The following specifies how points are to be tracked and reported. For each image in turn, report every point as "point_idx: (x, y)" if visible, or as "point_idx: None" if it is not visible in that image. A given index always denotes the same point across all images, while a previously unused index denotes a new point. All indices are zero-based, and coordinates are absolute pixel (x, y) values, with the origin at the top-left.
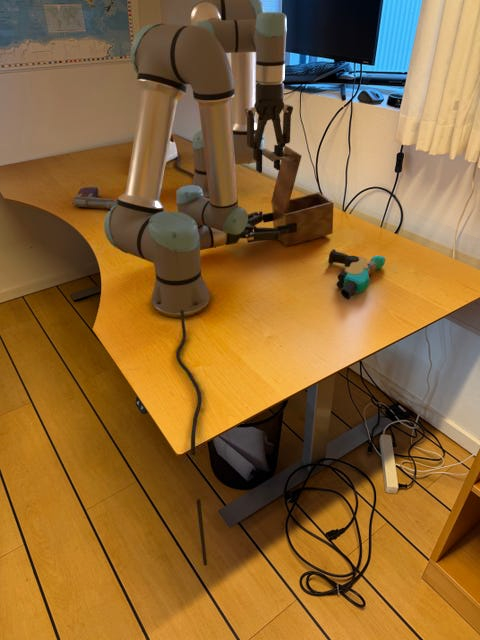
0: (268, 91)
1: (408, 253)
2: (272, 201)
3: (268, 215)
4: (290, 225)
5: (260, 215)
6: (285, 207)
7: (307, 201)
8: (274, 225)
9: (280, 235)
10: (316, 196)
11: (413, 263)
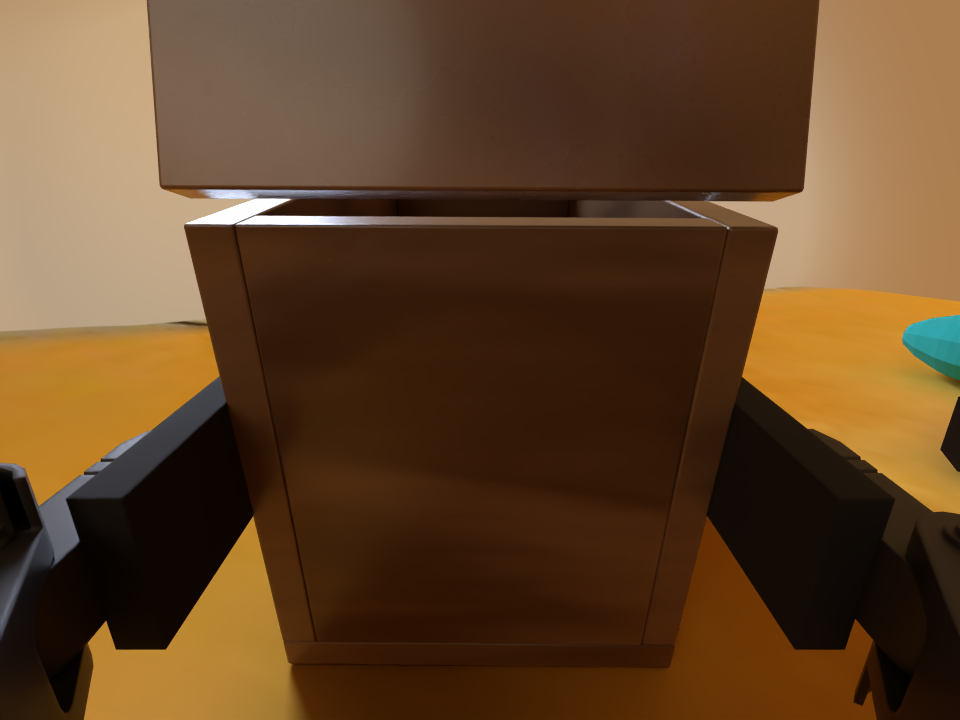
0: None
1: (759, 316)
2: (211, 145)
3: (190, 466)
4: (740, 382)
5: (26, 570)
6: (811, 48)
7: (382, 214)
8: (308, 555)
9: (509, 608)
10: None
11: (847, 325)
